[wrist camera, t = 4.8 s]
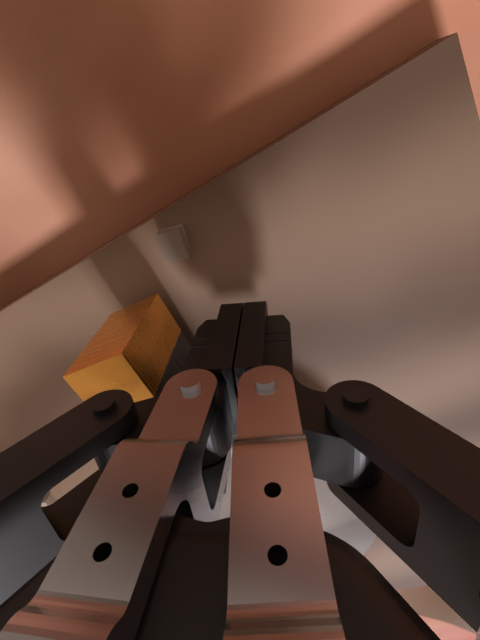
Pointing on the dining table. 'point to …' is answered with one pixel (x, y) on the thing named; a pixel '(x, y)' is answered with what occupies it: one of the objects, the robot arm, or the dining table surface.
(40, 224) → the dining table surface
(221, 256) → the board
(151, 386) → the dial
